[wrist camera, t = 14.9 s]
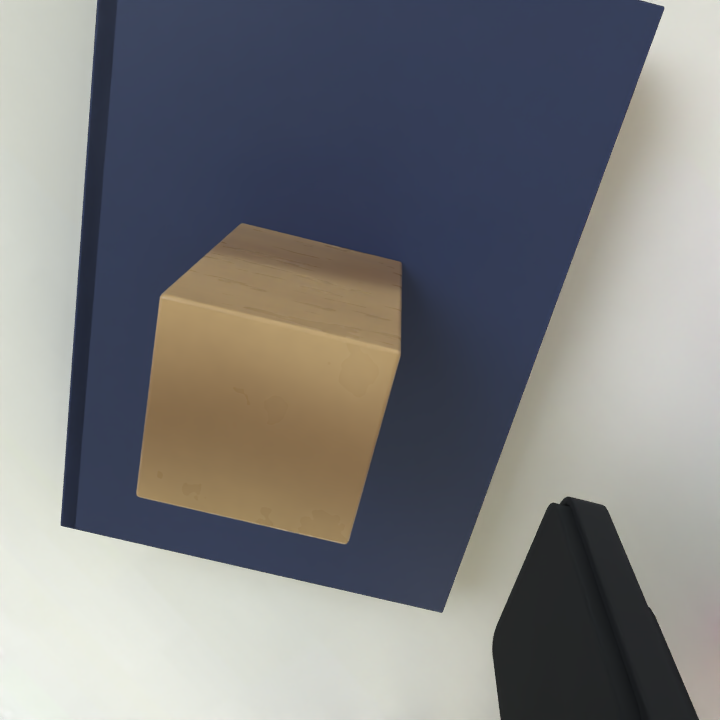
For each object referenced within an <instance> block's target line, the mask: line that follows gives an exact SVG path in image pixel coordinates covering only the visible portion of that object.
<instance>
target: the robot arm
mask: <svg viewBox="0 0 720 720" xmlns="http://www.w3.org/2000/svg"><path fill="white" fill-rule="evenodd" d="M492 652H493V661H494V669H495V677H496V685H497V693H498V701H499V709H500V717H501V720H699V719H698V716H697V714H696V712H695V709H694V707H693V705H692V702H691V700H690V697H689V695H688V693H687V690H686V688H685V686H684V683H683V681H682V679H681V676H680V674H679V672H678V669H677V667H676V664H675V662H674V660H673V657H672V655H671V653H670V650H669V648H668V646H667V643H666V641H665V638H664V636H663V634H662V631H661V629H660V627H659V624H658V622H657V620H656V617H655V615H654V614H653V612H652V610H651V609H650V608H649V607H648V605H647V603H646V601H645V598H644V596H643V593H642V591H641V589H640V586H639V584H638V581H637V579H636V577H635V574H634V572H633V569H632V567H631V565H630V562H629V560H628V558H627V555H626V553H625V550H624V548H623V546H622V543H621V541H620V538H619V536H618V534H617V531H616V529H615V526H614V524H613V522H612V519H611V517H610V515H609V512H608V510H607V508H606V507H605V506H603V505H601V504H597V503H593V502H588V501H584V500H580V499H576V498H572V497H566V498H564V499H563V500H562V501H561V503H560V504H556V503H551V504H550V505H549V506H548V508H547V510H546V512H545V514H544V517H543V519H542V521H541V524H540V526H539V528H538V531H537V533H536V535H535V538H534V540H533V542H532V545H531V547H530V549H529V552H528V554H527V556H526V559H525V561H524V563H523V566H522V568H521V570H520V573H519V575H518V577H517V580H516V582H515V584H514V586H513V589H512V591H511V593H510V596H509V598H508V600H507V603H506V605H505V607H504V610H503V612H502V614H501V617H500V619H499V621H498V624H497V626H496V629H495V632H494V636H493V645H492Z"/></svg>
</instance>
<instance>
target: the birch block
mask: <svg viewBox="0 0 720 720" xmlns="http://www.w3.org/2000/svg"><path fill="white" fill-rule="evenodd" d="M401 311H402V263H401V262H399V261H395V260H391V259H387V258H383V257H379V256H375V255H371V254H367V253H363V252H359V251H354V250H350V249H346V248H342V247H338V246H334V245H330V244H326V243H322V242H318V241H314V240H310V239H305V238H301V237H297V236H293V235H289V234H285V233H281V232H277V231H273V230H269V229H265V228H261V227H256V226H252V225H248V224H244V223H242V224H240V225H239V226H237V227H236V228H235V229H234V230H233V231H232V232H231V233H230V234H228V235H227V236H226V237H225V238H224V239H223V240H222V241H221V242H219V243H218V244H217V245H216V246H215V247H214V248H213V249H212V250H211V251H209V252H208V253H207V254H206V255H205V256H204V257H203V258H202V259H200V260H199V261H198V262H197V263H196V264H195V265H194V266H193V267H191V268H190V269H189V270H188V271H187V272H186V273H185V274H184V275H182V276H181V277H180V278H179V279H178V280H177V281H176V282H175V283H173V284H172V285H171V286H170V287H169V288H168V289H167V290H166V291H165V292H163V293H162V294H161V296H160V300H159V308H158V317H157V325H156V333H155V341H154V350H153V358H152V366H151V375H150V383H149V391H148V399H147V408H146V416H145V424H144V433H143V441H142V449H141V457H140V466H139V474H138V482H137V491H136V494H137V496H138V497H141V498H145V499H149V500H154V501H158V502H162V503H167V504H171V505H176V506H180V507H184V508H189V509H193V510H197V511H202V512H206V513H210V514H215V515H219V516H223V517H228V518H232V519H236V520H241V521H245V522H249V523H254V524H258V525H262V526H267V527H271V528H275V529H280V530H284V531H288V532H293V533H297V534H301V535H306V536H310V537H315V538H319V539H323V540H328V541H332V542H336V543H341V544H347V543H348V541H349V539H350V535H351V531H352V528H353V524H354V521H355V517H356V514H357V510H358V506H359V503H360V499H361V496H362V492H363V488H364V485H365V481H366V478H367V474H368V471H369V467H370V463H371V460H372V456H373V453H374V449H375V446H376V442H377V438H378V435H379V431H380V428H381V424H382V420H383V417H384V413H385V410H386V406H387V403H388V399H389V395H390V392H391V388H392V385H393V381H394V378H395V374H396V370H397V367H398V363H399V360H400V356H401Z"/></svg>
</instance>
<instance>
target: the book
mask: <svg viewBox="0 0 720 720" xmlns="http://www.w3.org/2000/svg"><path fill="white" fill-rule="evenodd" d="M663 11H664V7H663V6H660V5H656V4H652V3H648V2H644V1H641V0H97V13H96V27H95V42H94V56H93V70H92V85H91V99H90V113H89V127H88V142H87V156H86V170H85V185H84V199H83V213H82V227H81V242H80V256H79V270H78V285H77V299H76V313H75V327H74V342H73V356H72V370H71V385H70V399H69V413H68V427H67V442H66V456H65V470H64V485H63V499H62V513H61V526H64V527H68V528H73V529H77V530H82V531H86V532H90V533H95V534H99V535H103V536H108V537H112V538H117V539H121V540H125V541H130V542H134V543H139V544H143V545H147V546H152V547H156V548H160V549H165V550H169V551H174V552H178V553H182V554H187V555H191V556H195V557H200V558H204V559H209V560H213V561H217V562H222V563H226V564H230V565H235V566H239V567H244V568H248V569H252V570H257V571H261V572H265V573H270V574H274V575H279V576H283V577H287V578H292V579H296V580H300V581H305V582H309V583H314V584H318V585H322V586H327V587H331V588H335V589H340V590H344V591H349V592H353V593H357V594H362V595H366V596H371V597H375V598H379V599H384V600H388V601H392V602H397V603H401V604H406V605H410V606H414V607H419V608H423V609H427V610H432V611H436V612H441V613H442V612H443V610H444V607H445V604H446V602H447V599H448V596H449V593H450V591H451V588H452V585H453V583H454V580H455V577H456V574H457V572H458V569H459V566H460V563H461V561H462V558H463V555H464V553H465V550H466V547H467V544H468V542H469V539H470V536H471V533H472V531H473V528H474V525H475V523H476V520H477V517H478V514H479V512H480V509H481V506H482V504H483V501H484V498H485V495H486V493H487V490H488V487H489V484H490V482H491V479H492V476H493V474H494V471H495V468H496V465H497V463H498V460H499V457H500V455H501V452H502V449H503V446H504V444H505V441H506V438H507V435H508V433H509V430H510V427H511V425H512V422H513V419H514V416H515V414H516V411H517V408H518V406H519V403H520V400H521V397H522V395H523V392H524V389H525V386H526V384H527V381H528V378H529V376H530V373H531V370H532V367H533V365H534V362H535V359H536V357H537V354H538V351H539V348H540V346H541V343H542V340H543V337H544V335H545V332H546V329H547V327H548V324H549V321H550V318H551V316H552V313H553V310H554V308H555V305H556V302H557V299H558V297H559V294H560V291H561V288H562V286H563V283H564V280H565V278H566V275H567V272H568V269H569V267H570V264H571V261H572V259H573V256H574V253H575V250H576V248H577V245H578V242H579V239H580V237H581V234H582V231H583V229H584V226H585V223H586V220H587V218H588V215H589V212H590V210H591V207H592V204H593V201H594V199H595V196H596V193H597V190H598V188H599V185H600V182H601V180H602V177H603V174H604V171H605V169H606V166H607V163H608V161H609V158H610V155H611V152H612V150H613V147H614V144H615V141H616V139H617V136H618V133H619V131H620V128H621V125H622V122H623V120H624V117H625V114H626V112H627V109H628V106H629V103H630V101H631V98H632V95H633V92H634V90H635V87H636V84H637V82H638V79H639V76H640V73H641V71H642V68H643V65H644V63H645V60H646V57H647V54H648V52H649V49H650V46H651V43H652V41H653V38H654V35H655V33H656V30H657V27H658V24H659V22H660V19H661V16H662V14H663ZM242 223H244V224H248V225H252V226H256V227H261V228H265V229H269V230H273V231H277V232H281V233H285V234H289V235H293V236H297V237H301V238H305V239H310V240H314V241H318V242H322V243H326V244H330V245H334V246H338V247H342V248H346V249H350V250H354V251H359V252H363V253H367V254H371V255H375V256H379V257H383V258H387V259H391V260H395V261H399V262H401V263H402V311H401V356H400V360H399V363H398V367H397V370H396V374H395V378H394V381H393V385H392V388H391V392H390V395H389V399H388V403H387V406H386V410H385V413H384V417H383V420H382V424H381V428H380V431H379V435H378V438H377V442H376V446H375V449H374V453H373V456H372V460H371V463H370V467H369V471H368V474H367V478H366V481H365V485H364V488H363V492H362V496H361V499H360V503H359V506H358V510H357V514H356V517H355V521H354V524H353V528H352V531H351V535H350V539H349V541H348V543H347V544H341V543H336V542H332V541H328V540H323V539H319V538H315V537H310V536H306V535H301V534H297V533H293V532H288V531H284V530H280V529H275V528H271V527H267V526H262V525H258V524H254V523H249V522H245V521H241V520H236V519H232V518H228V517H223V516H219V515H215V514H210V513H206V512H202V511H197V510H193V509H189V508H184V507H180V506H176V505H171V504H167V503H162V502H158V501H154V500H149V499H145V498H141V497H138V496H137V494H136V491H137V482H138V474H139V466H140V457H141V449H142V441H143V433H144V424H145V416H146V408H147V399H148V391H149V383H150V375H151V366H152V358H153V350H154V341H155V333H156V325H157V317H158V308H159V300H160V296H161V294H162V293H163V292H165V291H166V290H167V289H168V288H169V287H170V286H171V285H172V284H173V283H175V282H176V281H177V280H178V279H179V278H180V277H181V276H182V275H184V274H185V273H186V272H187V271H188V270H189V269H190V268H191V267H193V266H194V265H195V264H196V263H197V262H198V261H199V260H200V259H202V258H203V257H204V256H205V255H206V254H207V253H208V252H209V251H211V250H212V249H213V248H214V247H215V246H216V245H217V244H218V243H219V242H221V241H222V240H223V239H224V238H225V237H226V236H227V235H228V234H230V233H231V232H232V231H233V230H234V229H235V228H236V227H237V226H239V225H240V224H242Z"/></svg>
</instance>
